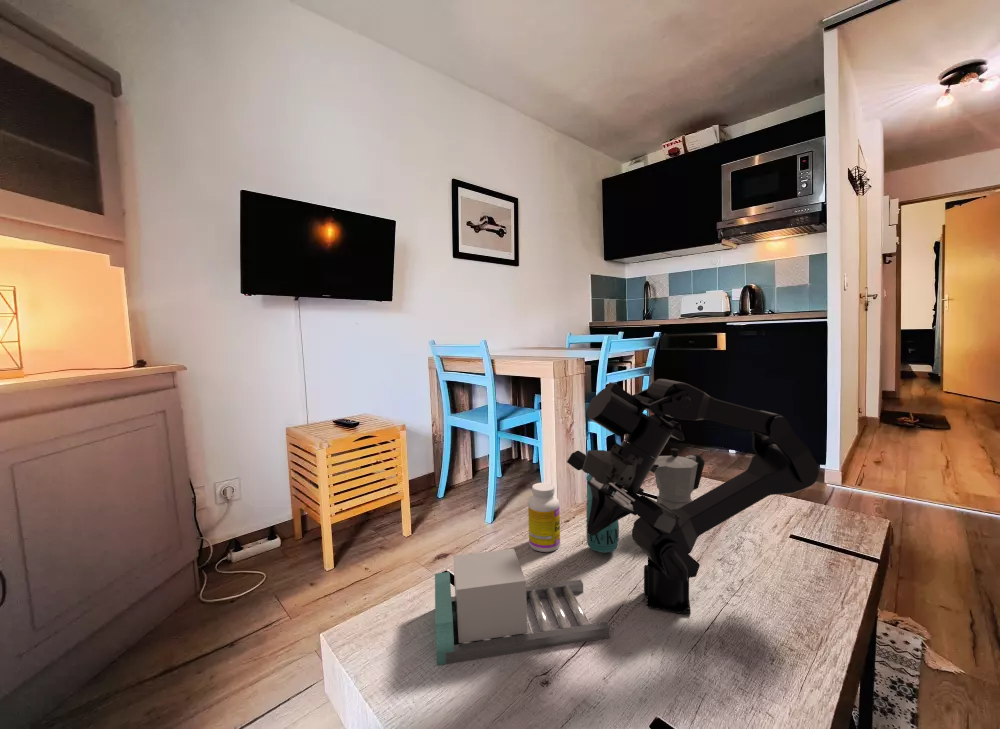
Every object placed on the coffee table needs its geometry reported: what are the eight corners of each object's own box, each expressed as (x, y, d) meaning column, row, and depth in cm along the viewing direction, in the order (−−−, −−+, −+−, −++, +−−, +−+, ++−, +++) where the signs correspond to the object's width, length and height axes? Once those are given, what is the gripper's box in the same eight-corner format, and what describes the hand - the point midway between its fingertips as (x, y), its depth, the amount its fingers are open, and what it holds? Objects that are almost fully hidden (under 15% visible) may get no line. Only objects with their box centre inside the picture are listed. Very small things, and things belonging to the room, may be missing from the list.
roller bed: (436, 608, 68) (434, 573, 68) (580, 588, 72) (580, 555, 72) (437, 665, 56) (435, 624, 56) (609, 637, 60) (609, 599, 60)
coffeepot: (668, 541, 87) (668, 458, 85) (637, 522, 96) (637, 447, 94) (720, 526, 93) (721, 448, 91) (687, 509, 101) (687, 438, 100)
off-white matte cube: (515, 594, 68) (513, 548, 68) (527, 632, 60) (525, 580, 59) (455, 602, 67) (453, 555, 66) (458, 643, 58) (456, 589, 57)
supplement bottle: (559, 554, 83) (558, 493, 82) (527, 552, 84) (525, 491, 83) (561, 538, 90) (559, 481, 89) (531, 536, 91) (529, 480, 90)
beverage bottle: (582, 544, 87) (580, 452, 85) (613, 542, 87) (611, 450, 86) (592, 561, 80) (590, 462, 79) (624, 559, 81) (623, 460, 79)
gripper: (572, 409, 68) (524, 489, 68) (665, 462, 53) (604, 566, 53) (608, 432, 75) (564, 505, 74) (700, 485, 60) (645, 578, 59)
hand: (589, 533), depth 65 cm, fingers closed
